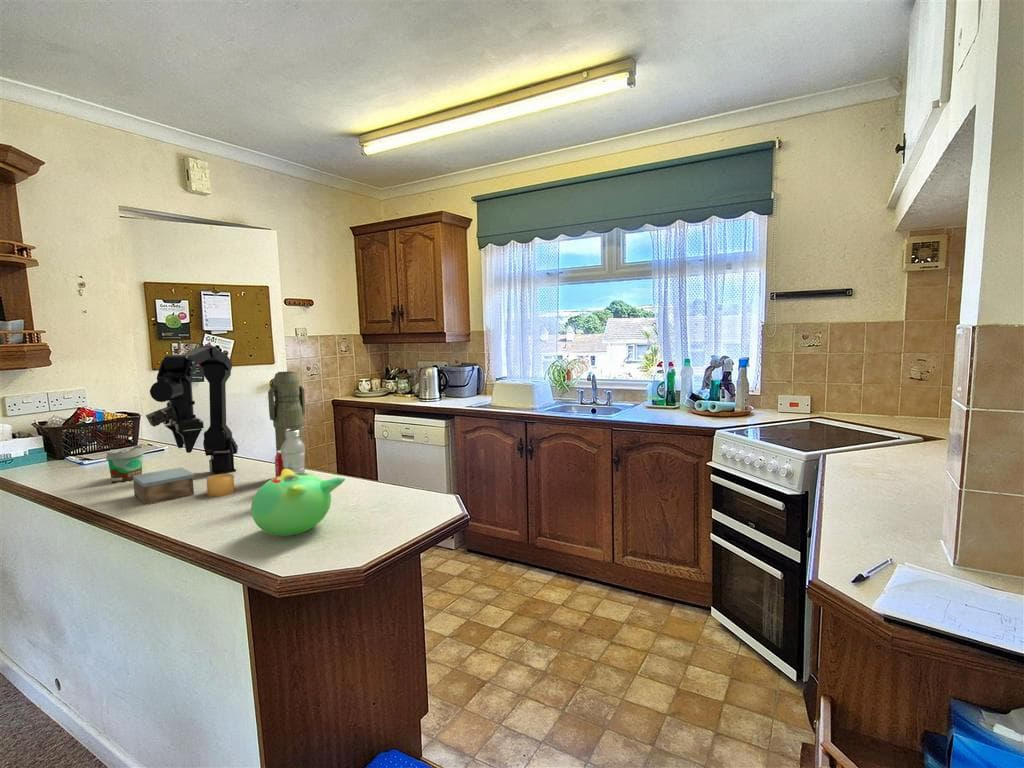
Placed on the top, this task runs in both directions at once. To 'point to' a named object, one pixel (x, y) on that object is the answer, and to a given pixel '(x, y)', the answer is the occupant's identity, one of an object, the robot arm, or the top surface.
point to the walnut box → (163, 491)
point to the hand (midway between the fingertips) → (184, 450)
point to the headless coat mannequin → (286, 406)
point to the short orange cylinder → (220, 485)
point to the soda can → (278, 463)
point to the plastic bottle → (293, 451)
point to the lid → (163, 477)
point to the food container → (125, 464)
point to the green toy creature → (292, 502)
